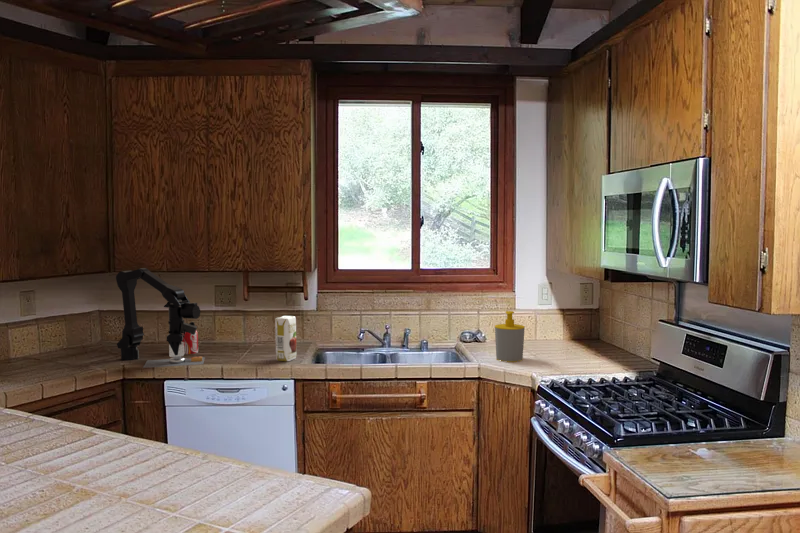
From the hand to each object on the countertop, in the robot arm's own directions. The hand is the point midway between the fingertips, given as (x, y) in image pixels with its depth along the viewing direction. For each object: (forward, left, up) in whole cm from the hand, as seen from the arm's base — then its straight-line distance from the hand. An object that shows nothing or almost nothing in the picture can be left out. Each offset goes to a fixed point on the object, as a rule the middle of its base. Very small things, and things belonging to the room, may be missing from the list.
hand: (177, 353), depth 271 cm
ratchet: (+4, 0, -4) cm, 5 cm away
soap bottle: (+141, -30, -5) cm, 144 cm away
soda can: (+4, +19, -5) cm, 20 cm away
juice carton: (+46, -4, -5) cm, 47 cm away
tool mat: (-1, 0, -4) cm, 4 cm away
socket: (0, 0, 0) cm, 0 cm away
